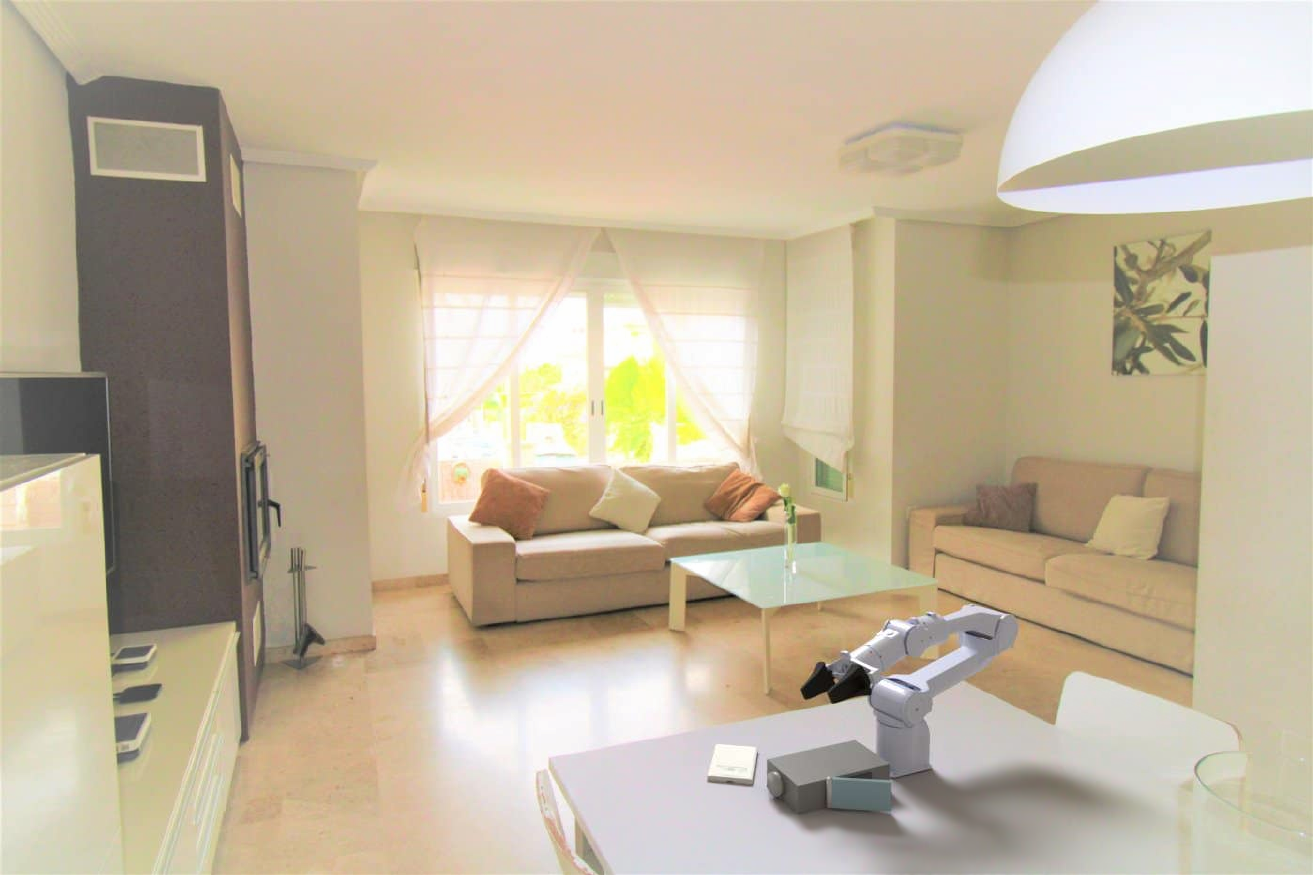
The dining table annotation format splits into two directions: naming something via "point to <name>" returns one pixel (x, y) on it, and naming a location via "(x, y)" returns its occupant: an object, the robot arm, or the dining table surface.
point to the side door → (859, 794)
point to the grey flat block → (821, 773)
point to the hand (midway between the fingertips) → (816, 696)
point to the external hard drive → (733, 764)
